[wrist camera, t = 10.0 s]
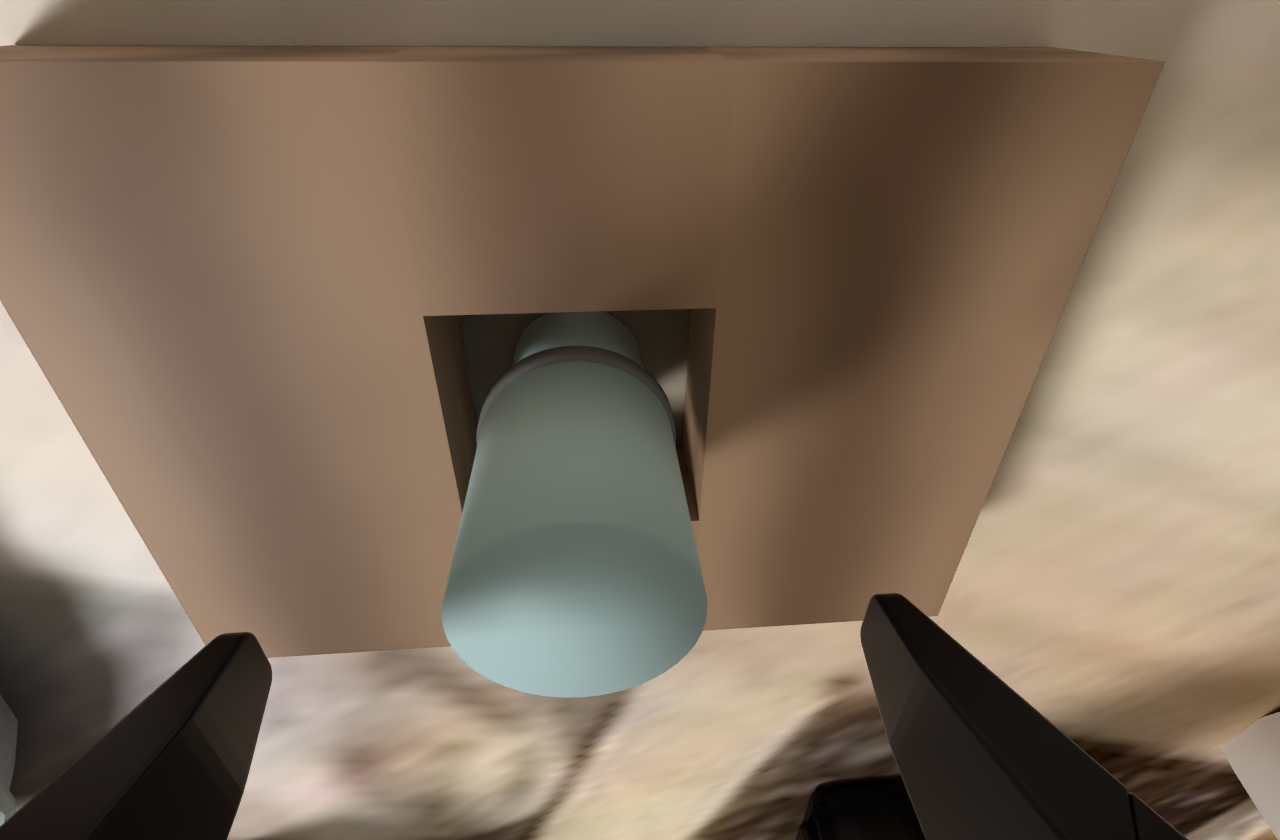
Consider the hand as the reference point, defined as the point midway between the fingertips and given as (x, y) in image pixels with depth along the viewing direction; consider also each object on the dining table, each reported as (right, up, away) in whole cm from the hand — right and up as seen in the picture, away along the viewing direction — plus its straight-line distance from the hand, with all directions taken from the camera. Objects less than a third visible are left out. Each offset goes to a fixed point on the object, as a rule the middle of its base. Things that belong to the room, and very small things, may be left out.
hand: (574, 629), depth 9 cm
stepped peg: (-1, +5, +7) cm, 8 cm away
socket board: (-1, +5, +7) cm, 8 cm away
